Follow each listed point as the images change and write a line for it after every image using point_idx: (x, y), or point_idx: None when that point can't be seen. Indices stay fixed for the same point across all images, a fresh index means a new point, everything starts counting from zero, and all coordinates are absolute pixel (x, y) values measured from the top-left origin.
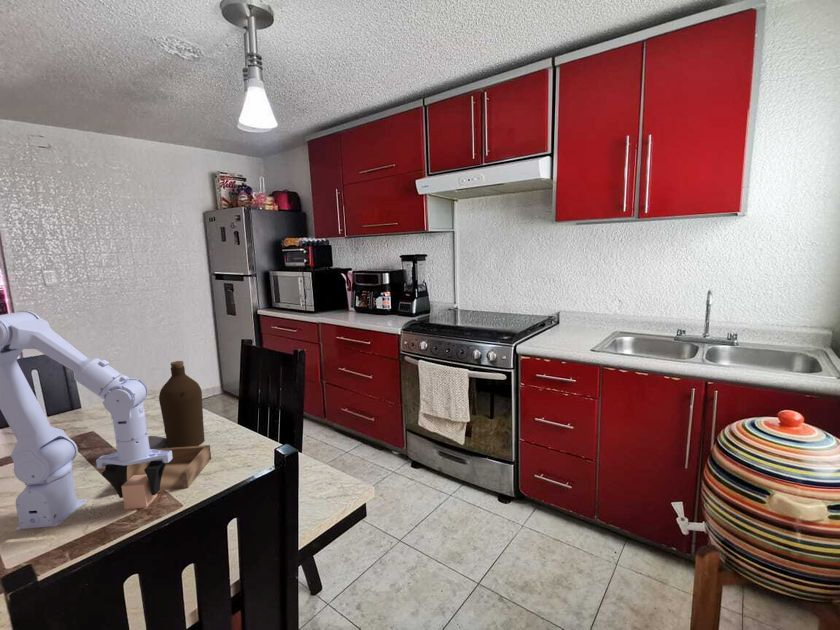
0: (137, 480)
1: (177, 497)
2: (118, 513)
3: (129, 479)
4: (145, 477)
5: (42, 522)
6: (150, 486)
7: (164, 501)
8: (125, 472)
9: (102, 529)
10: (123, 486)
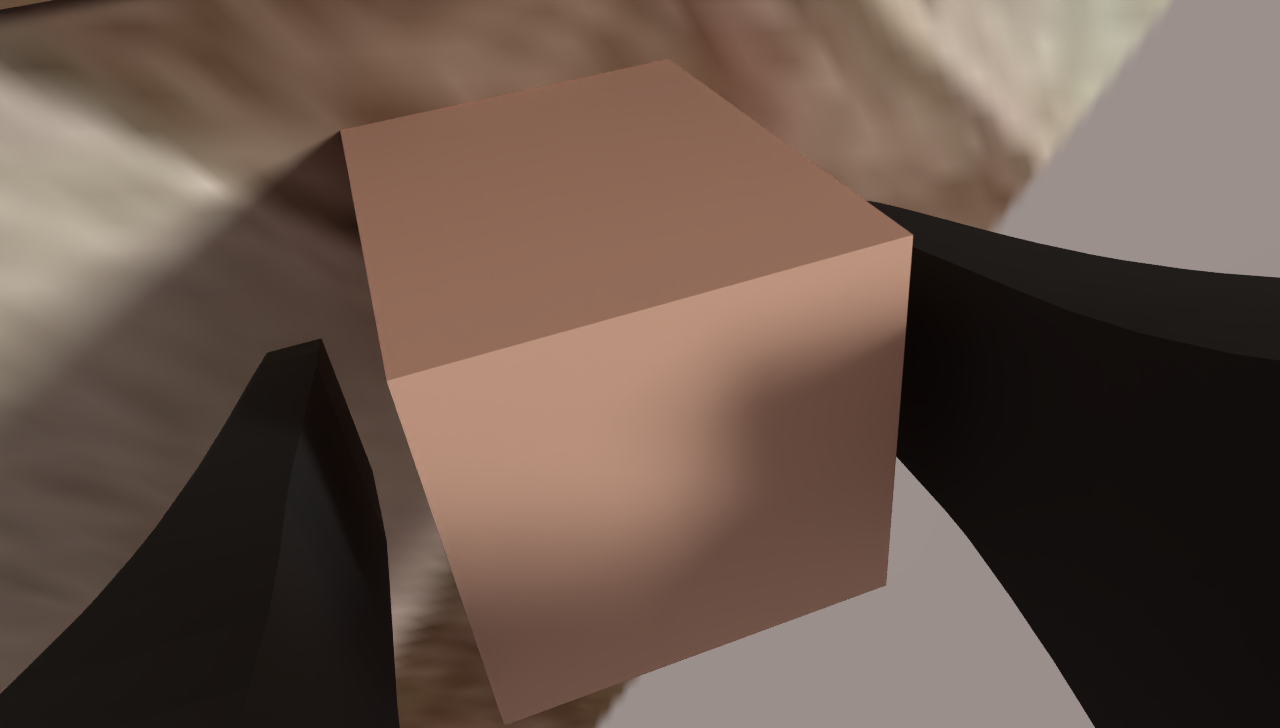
0: (683, 523)
1: (948, 32)
2: (364, 444)
3: (456, 537)
4: (791, 410)
5: None
6: (920, 471)
7: (815, 140)
8: (295, 635)
9: (440, 651)
10: (546, 709)
